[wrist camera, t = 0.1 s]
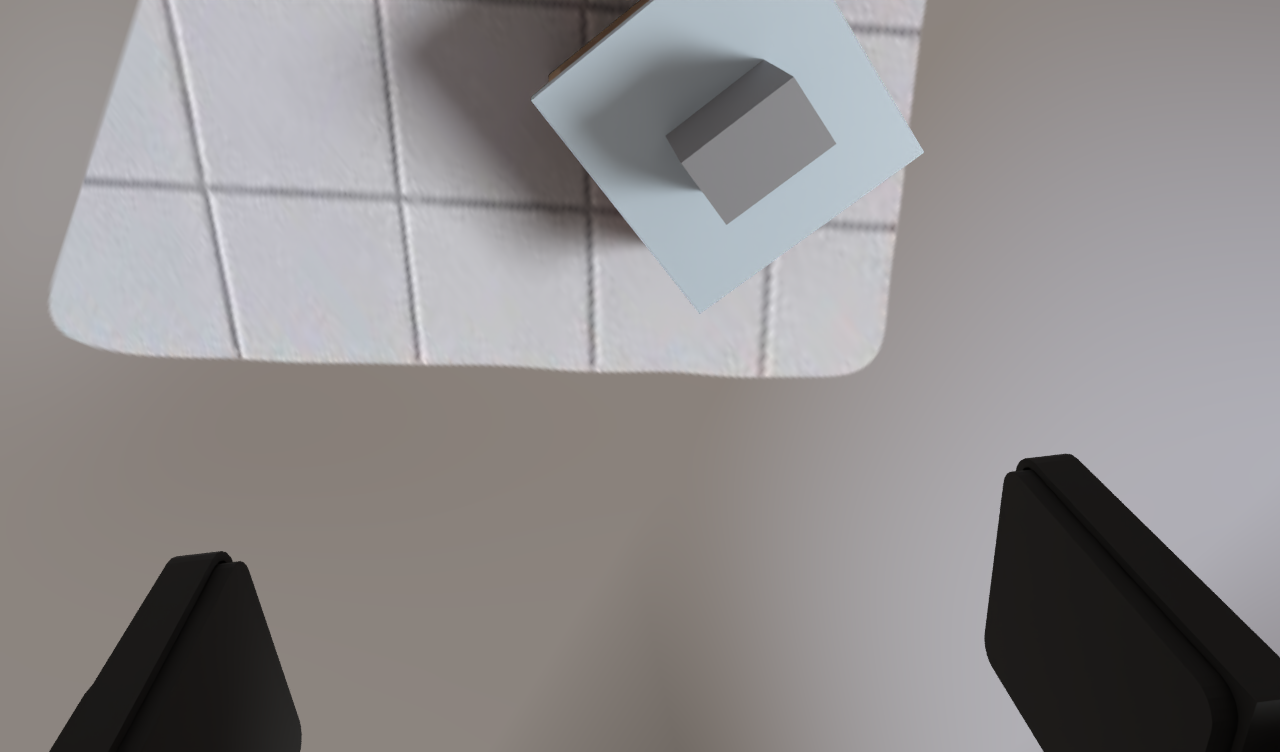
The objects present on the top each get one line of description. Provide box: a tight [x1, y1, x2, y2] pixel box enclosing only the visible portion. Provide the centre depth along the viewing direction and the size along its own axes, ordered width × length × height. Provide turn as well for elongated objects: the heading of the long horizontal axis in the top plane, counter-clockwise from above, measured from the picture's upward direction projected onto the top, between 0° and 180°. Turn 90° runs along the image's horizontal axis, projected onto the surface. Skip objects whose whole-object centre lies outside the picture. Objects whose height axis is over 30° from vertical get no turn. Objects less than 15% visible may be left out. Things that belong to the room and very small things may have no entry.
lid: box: [531, 0, 924, 314], centre depth 36 cm, size 12×12×6 cm
